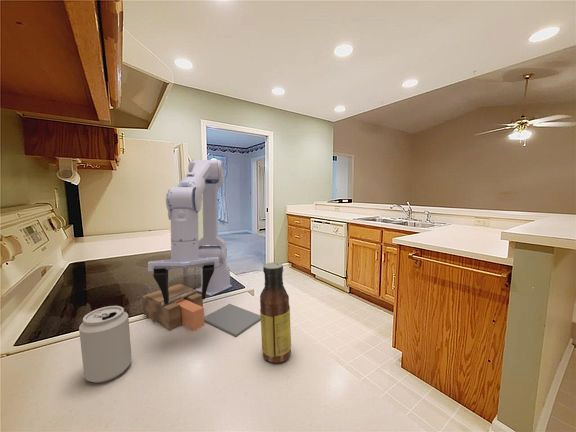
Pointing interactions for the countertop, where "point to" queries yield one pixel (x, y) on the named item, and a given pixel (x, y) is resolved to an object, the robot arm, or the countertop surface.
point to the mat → (232, 319)
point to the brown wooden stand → (169, 305)
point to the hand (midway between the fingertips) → (185, 300)
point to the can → (105, 343)
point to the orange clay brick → (191, 314)
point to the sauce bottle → (275, 315)
